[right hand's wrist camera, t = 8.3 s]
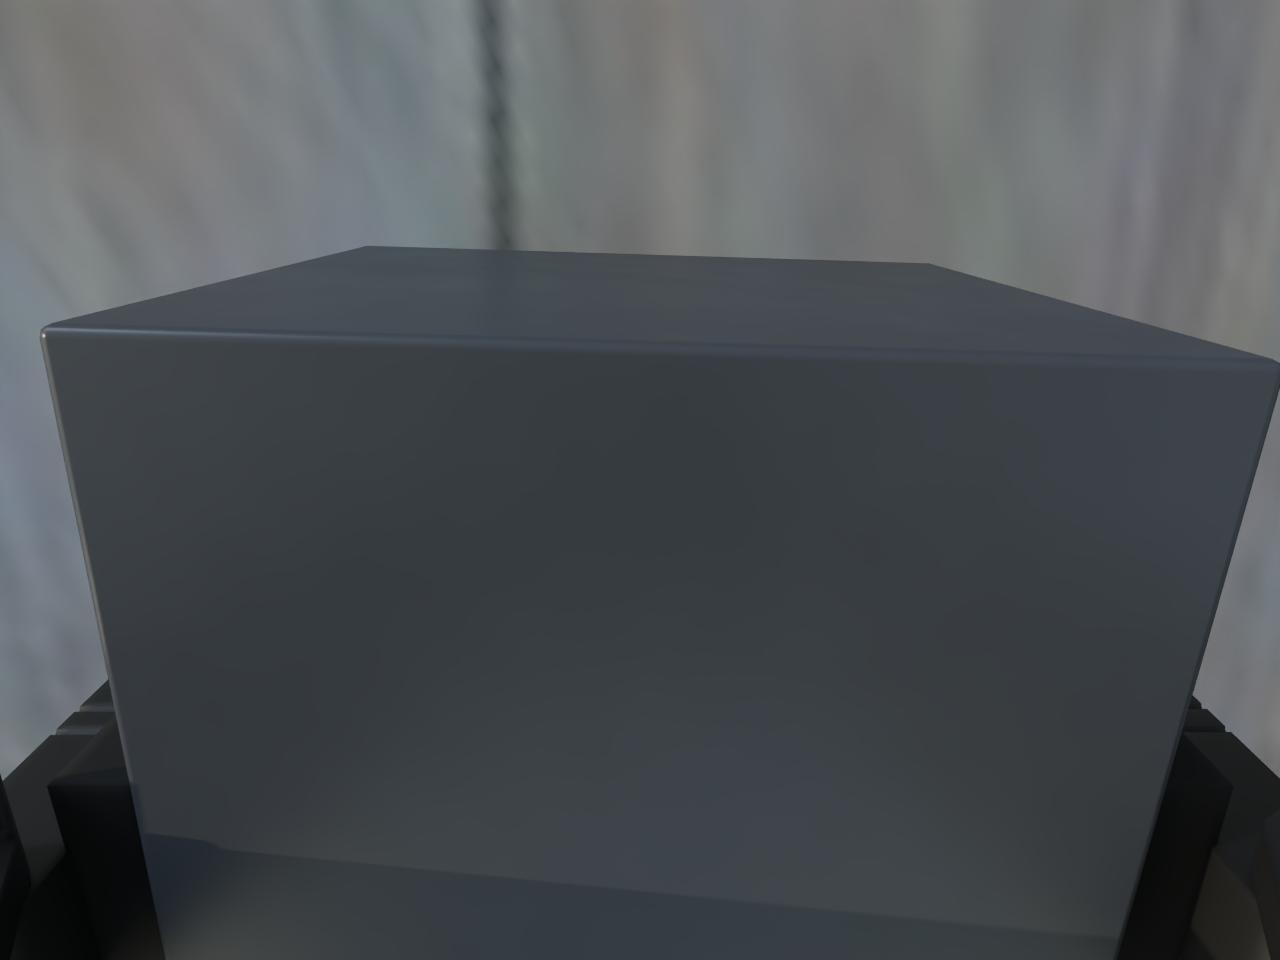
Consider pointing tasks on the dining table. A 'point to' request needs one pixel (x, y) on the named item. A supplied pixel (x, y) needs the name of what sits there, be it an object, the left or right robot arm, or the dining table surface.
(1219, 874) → the right robot arm
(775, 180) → the dining table surface
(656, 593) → the wide beam
